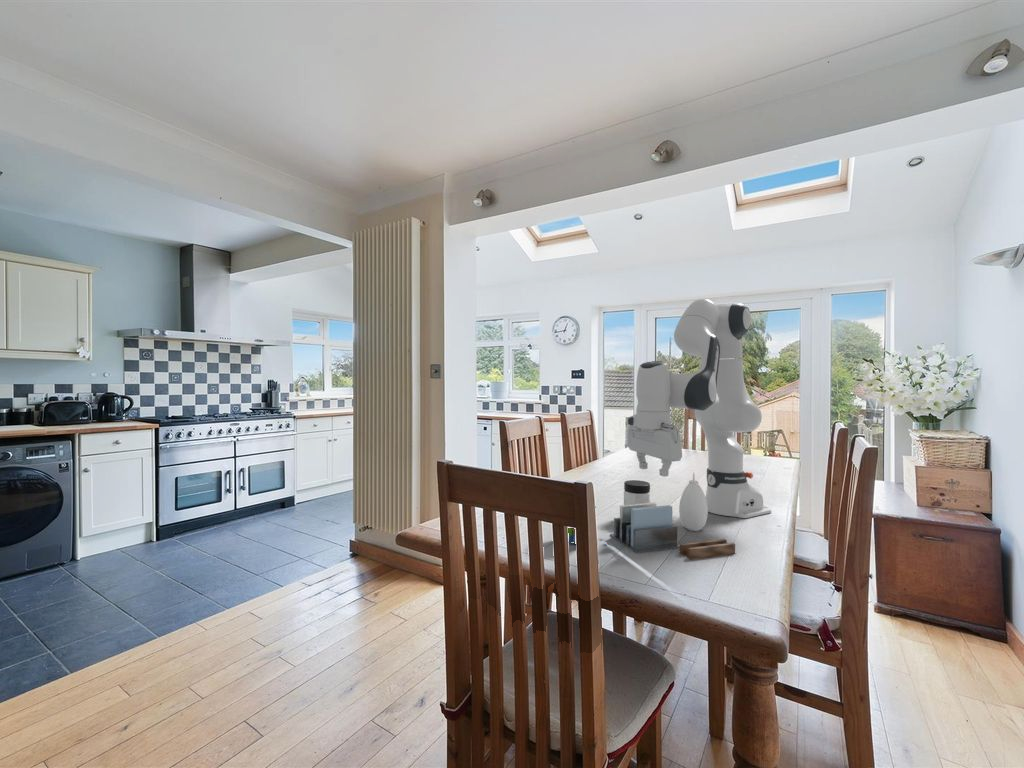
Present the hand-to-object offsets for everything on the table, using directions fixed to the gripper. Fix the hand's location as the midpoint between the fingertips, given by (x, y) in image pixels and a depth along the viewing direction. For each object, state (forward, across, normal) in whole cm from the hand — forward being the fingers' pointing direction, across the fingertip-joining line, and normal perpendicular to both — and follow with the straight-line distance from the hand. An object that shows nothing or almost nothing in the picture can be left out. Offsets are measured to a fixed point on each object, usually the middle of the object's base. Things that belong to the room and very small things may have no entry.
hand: (653, 472), depth 125 cm
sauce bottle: (+21, +8, -20) cm, 30 cm away
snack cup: (+21, +12, +18) cm, 30 cm away
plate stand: (+21, -9, -10) cm, 25 cm away
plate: (+20, 0, 0) cm, 20 cm away
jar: (+21, +23, -10) cm, 33 cm away
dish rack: (+21, +4, 0) cm, 21 cm away
